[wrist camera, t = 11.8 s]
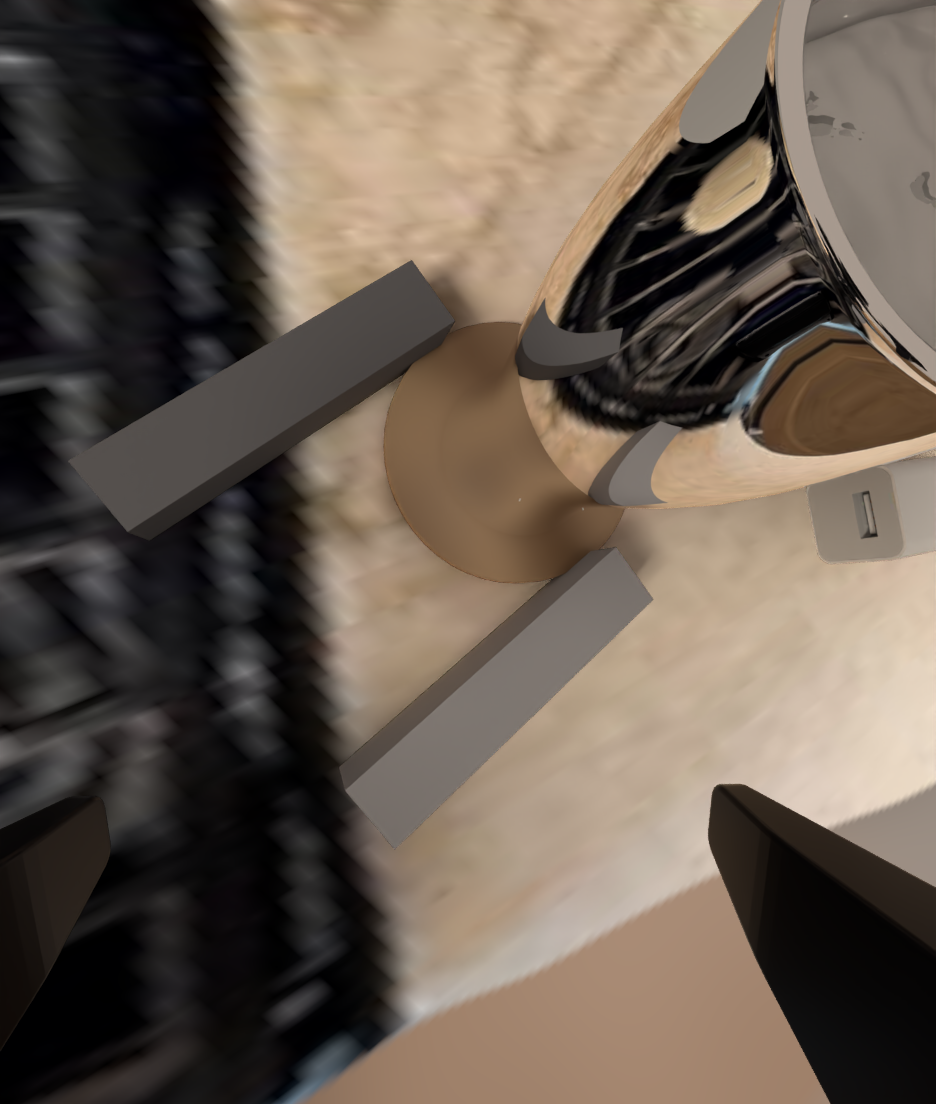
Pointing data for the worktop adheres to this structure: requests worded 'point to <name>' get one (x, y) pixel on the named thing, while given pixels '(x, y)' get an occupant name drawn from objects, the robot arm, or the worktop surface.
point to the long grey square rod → (263, 403)
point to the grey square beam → (491, 694)
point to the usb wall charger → (876, 513)
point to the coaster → (425, 485)
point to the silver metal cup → (733, 288)
